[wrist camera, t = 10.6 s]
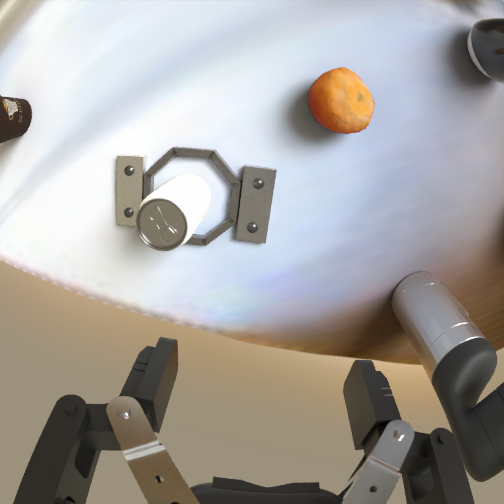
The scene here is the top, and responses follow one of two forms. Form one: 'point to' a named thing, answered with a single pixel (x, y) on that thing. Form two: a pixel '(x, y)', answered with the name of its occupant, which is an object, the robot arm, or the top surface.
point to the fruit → (341, 101)
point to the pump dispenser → (488, 47)
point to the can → (173, 212)
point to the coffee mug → (14, 117)
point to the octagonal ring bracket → (254, 180)
